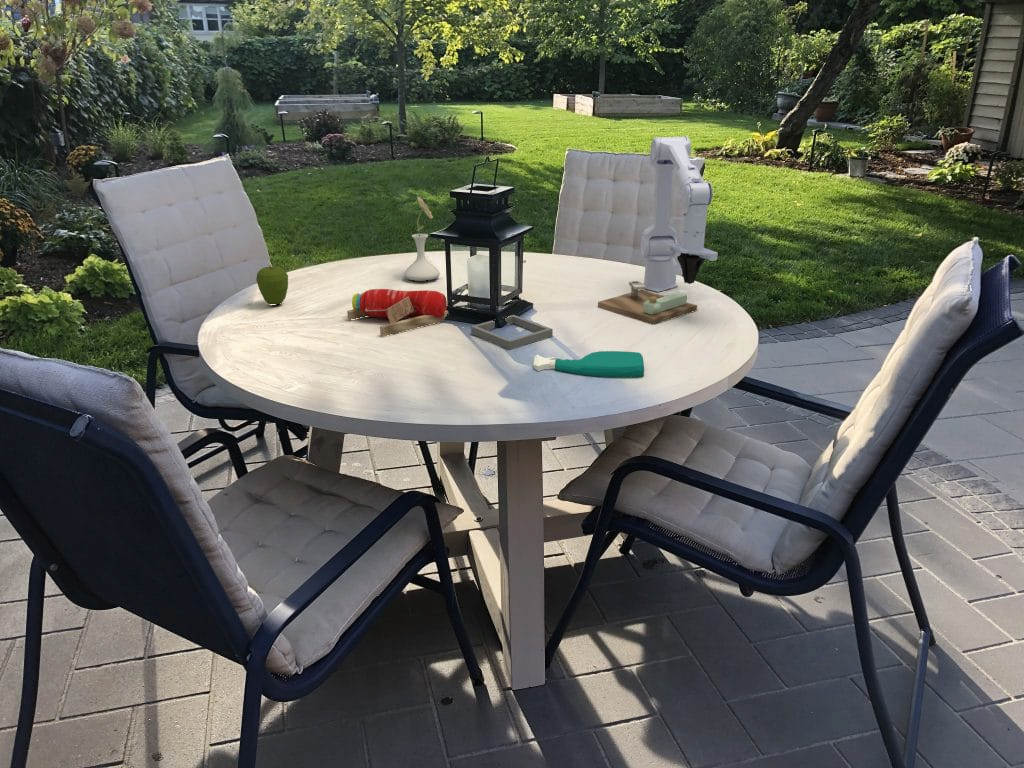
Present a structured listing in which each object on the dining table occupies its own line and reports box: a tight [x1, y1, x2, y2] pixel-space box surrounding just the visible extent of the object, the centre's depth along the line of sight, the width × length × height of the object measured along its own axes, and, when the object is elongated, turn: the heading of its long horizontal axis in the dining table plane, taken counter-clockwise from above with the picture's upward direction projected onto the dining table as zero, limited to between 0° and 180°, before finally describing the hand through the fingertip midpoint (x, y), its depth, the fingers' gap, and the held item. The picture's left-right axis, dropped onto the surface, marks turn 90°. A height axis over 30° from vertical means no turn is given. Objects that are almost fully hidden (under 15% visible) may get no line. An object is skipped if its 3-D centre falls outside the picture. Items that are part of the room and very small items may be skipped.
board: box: [597, 280, 698, 325], centre depth 212 cm, size 18×20×6 cm
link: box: [643, 292, 688, 315], centre depth 208 cm, size 14×4×2 cm, turn 130°
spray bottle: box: [532, 350, 645, 378], centre depth 174 cm, size 3×11×25 cm
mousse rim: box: [470, 314, 554, 350], centre depth 194 cm, size 14×15×2 cm
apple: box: [255, 265, 289, 305], centre depth 216 cm, size 9×8×12 cm
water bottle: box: [351, 288, 448, 324], centre depth 204 cm, size 12×8×25 cm
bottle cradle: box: [346, 308, 449, 337], centre depth 205 cm, size 20×18×2 cm
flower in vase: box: [403, 196, 441, 282], centre depth 238 cm, size 13×11×25 cm
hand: (689, 282), depth 203 cm, fingers closed
